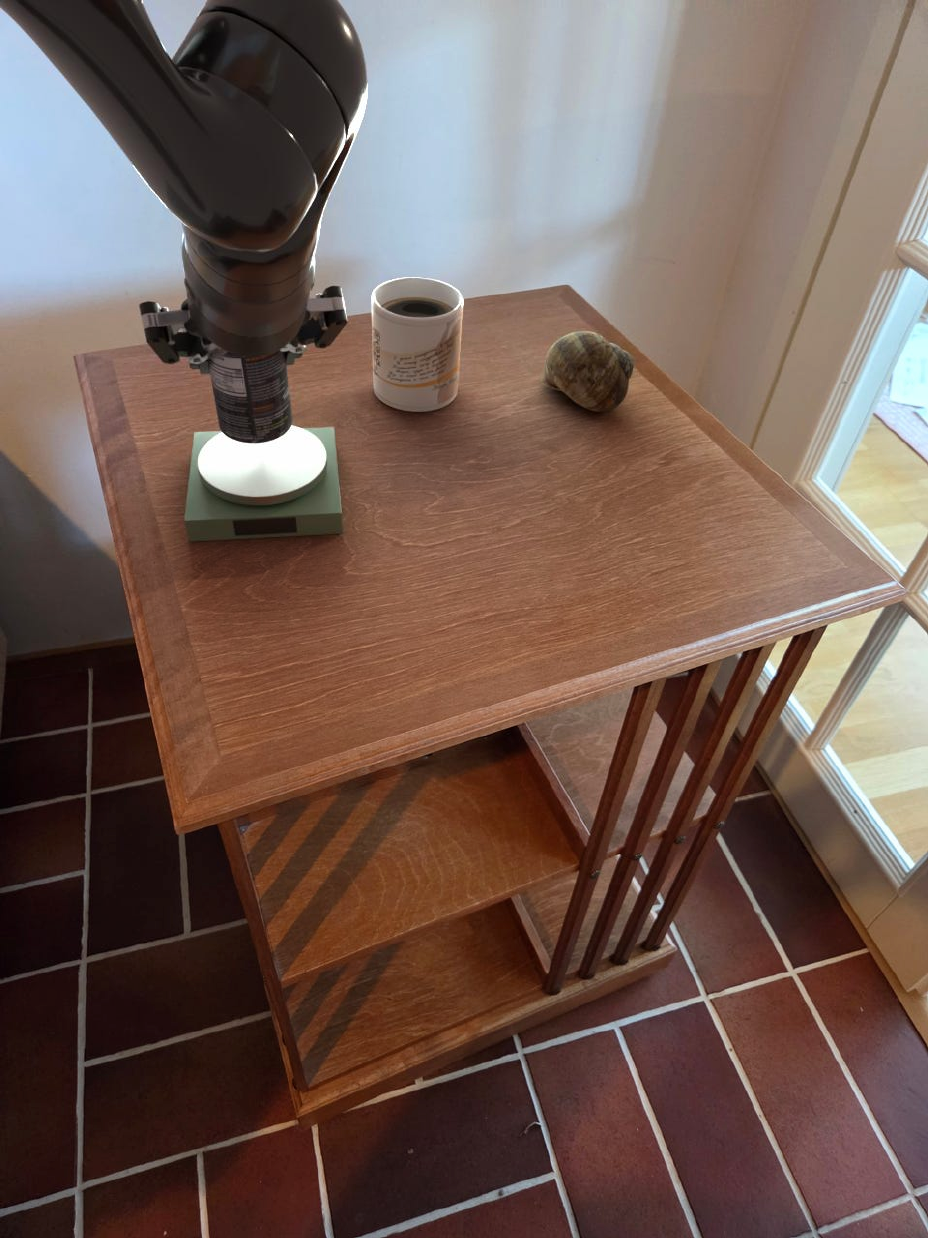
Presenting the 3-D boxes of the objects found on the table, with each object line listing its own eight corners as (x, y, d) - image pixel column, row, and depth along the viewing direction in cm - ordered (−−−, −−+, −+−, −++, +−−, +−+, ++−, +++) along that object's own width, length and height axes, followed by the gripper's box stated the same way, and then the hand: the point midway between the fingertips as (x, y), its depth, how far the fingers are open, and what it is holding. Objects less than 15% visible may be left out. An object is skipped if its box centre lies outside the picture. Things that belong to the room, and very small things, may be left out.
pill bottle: (286, 403, 72) (273, 272, 63) (298, 441, 68) (286, 307, 60) (215, 410, 70) (192, 278, 62) (223, 450, 66) (200, 314, 58)
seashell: (638, 419, 95) (654, 355, 89) (562, 428, 93) (573, 363, 87) (599, 369, 102) (611, 306, 96) (528, 376, 100) (536, 313, 94)
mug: (353, 398, 94) (349, 304, 86) (396, 350, 102) (396, 260, 94) (439, 420, 92) (443, 326, 84) (476, 370, 100) (483, 280, 92)
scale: (188, 542, 76) (180, 508, 73) (198, 452, 85) (191, 418, 82) (343, 534, 78) (341, 500, 75) (335, 447, 88) (333, 414, 85)
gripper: (354, 203, 52) (325, 302, 68) (110, 217, 48) (140, 318, 64) (376, 324, 52) (342, 393, 68) (136, 347, 48) (160, 415, 65)
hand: (244, 356), depth 66 cm, fingers closed on pill bottle, 6 cm apart
